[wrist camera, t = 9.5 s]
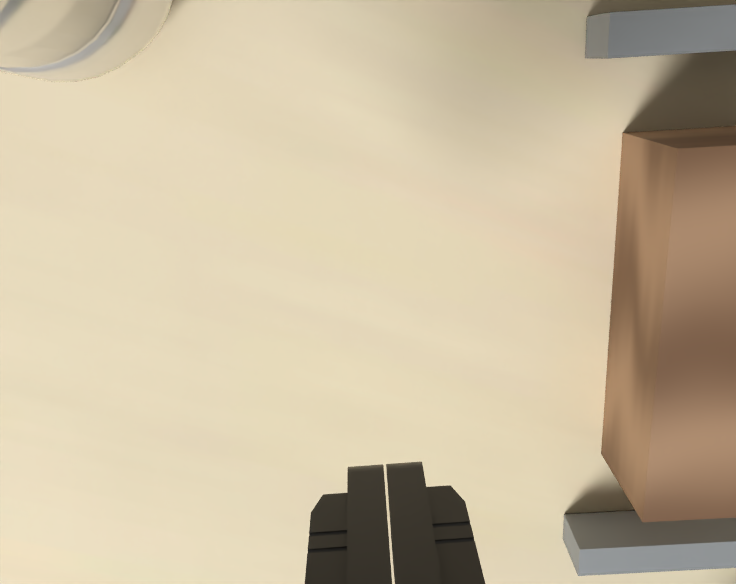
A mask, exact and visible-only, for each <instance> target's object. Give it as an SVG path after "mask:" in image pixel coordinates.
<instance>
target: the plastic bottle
mask: <svg viewBox="0 0 736 584" xmlns="http://www.w3.org/2000/svg"><path fill="white" fill-rule="evenodd" d="M171 4H172V0H0V71H1V72H4V73H9V74H14V75H18V76H23V77H28V78H34V79H39V80H44V81H49V82H77V81H82V80H86V79H91V78H96V77H99V76H102V75H104V74H106V73H108V72H110V71H113V70H115V69H117V68H119V67H121V66H122V65H123V64H125V63H126V62H128V61H129V60H131V59H132V58H133V57H135V56H136V55H137V54H138V53H140V52H141V51H142V50H144V49H145V48H146V47H147V46H148V45H149V44H150V42H151V41H152V40H153V39H154V38H155V36H156V35H157V34H158V33H159V31H160V29H161V28H162V26H163V24H164V22H165V20H166V18H167V16H168V14H169V11H170V7H171Z"/></svg>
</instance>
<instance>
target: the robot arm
mask: <svg viewBox="0 0 736 584" xmlns="http://www.w3.org/2000/svg"><path fill="white" fill-rule="evenodd" d="M386 466H387V481H388V496H389V510H390V525H391V539H392V552H393V565H394V578H395V584H485V581H484V577H483V573H482V569H481V565H480V561H479V557H478V553H477V549H476V545H475V541H474V536H473V532H472V528H471V525H470V520H469V516H468V512H467V508H466V504H465V501H464V500H463V499H462V498H461V497H460V496H459V495H458V493H457V492H456V491H455V490H454V489H453V488H452V487H451V486H436V487H426V483H425V477H424V471H423V466H422V462H411V463H397V464H386ZM309 535H310V536H309V542H308V554H307V565H306V577H305V584H392V577H391V564H390V550H389V537H388V523H387V510H386V496H385V482H384V469H383V465H371V466H356V467H348V493H339V494H325V495H323V496H322V497H321V499H320V500H319V502H318V503H317V505H316V506H315V508H314V509H313V511H312V512H311V520H310V531H309Z"/></svg>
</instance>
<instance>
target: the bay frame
mask: <svg viewBox="0 0 736 584" xmlns="http://www.w3.org/2000/svg"><path fill="white" fill-rule="evenodd" d="M734 50H736V4H735V5H719V6H703V7H687V8H672V9H656V10H640V11H624V12H609V13H604V14H599V15H593V16H588V17H587V29H586V51H585V58H622V57H638V56H654V55H670V54H686V53H702V52H718V51H734ZM563 540H564V543H565V545H566V548H567V550H568V552H569V555H570V557H571V560H572V562H573V564H574V567H575V569H576V572H577V574H578V576H585V575H604V574H623V573H642V572H661V571H681V570H700V569H719V568H736V518H718V519H699V520H679V521H660V522H642V521H641V519H640V517H639V516H638V514H637V512H636V511H617V512H598V513H580V514H564V529H563Z"/></svg>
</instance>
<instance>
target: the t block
mask: <svg viewBox="0 0 736 584" xmlns="http://www.w3.org/2000/svg"><path fill="white" fill-rule="evenodd" d="M601 454H602V456H603V458H604V459H605V461H606V462H607V464H608V466H609V467H610V469H611V471H612V472H613V474H614V476H615V477H616V479H617V481H618V482H619V484H620V486H621V487H622V489H623V491H624V492H625V494H626V496H627V497H628V499H629V501H630V502H631V504H632V506H633V507H634V509H635V511H636V512H637V514H638V516H639V517H640V519H641V521H642V522H660V521H679V520H699V519H718V518H736V126H727V127H710V128H693V129H677V130H660V131H643V132H627V133H623V136H622V151H621V166H620V181H619V196H618V211H617V226H616V241H615V256H614V271H613V285H612V300H611V315H610V330H609V345H608V360H607V375H606V390H605V405H604V420H603V435H602V450H601Z"/></svg>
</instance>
